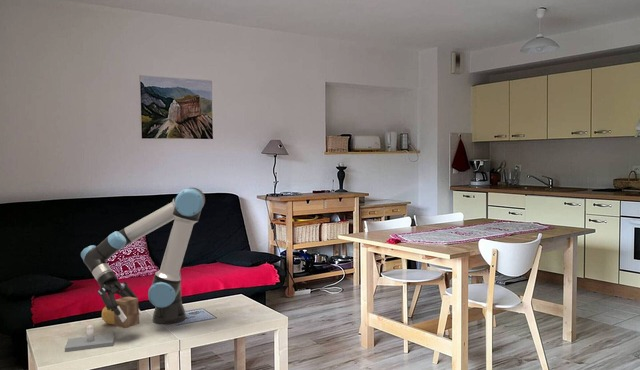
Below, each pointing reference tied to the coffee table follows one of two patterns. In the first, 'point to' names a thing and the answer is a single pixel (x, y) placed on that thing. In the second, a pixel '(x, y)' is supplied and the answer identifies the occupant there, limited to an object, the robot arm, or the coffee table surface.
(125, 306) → the brown wooden block
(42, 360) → the coffee table surface
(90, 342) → the stub plate
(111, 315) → the stress ball
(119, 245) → the robot arm
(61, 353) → the coffee table surface
